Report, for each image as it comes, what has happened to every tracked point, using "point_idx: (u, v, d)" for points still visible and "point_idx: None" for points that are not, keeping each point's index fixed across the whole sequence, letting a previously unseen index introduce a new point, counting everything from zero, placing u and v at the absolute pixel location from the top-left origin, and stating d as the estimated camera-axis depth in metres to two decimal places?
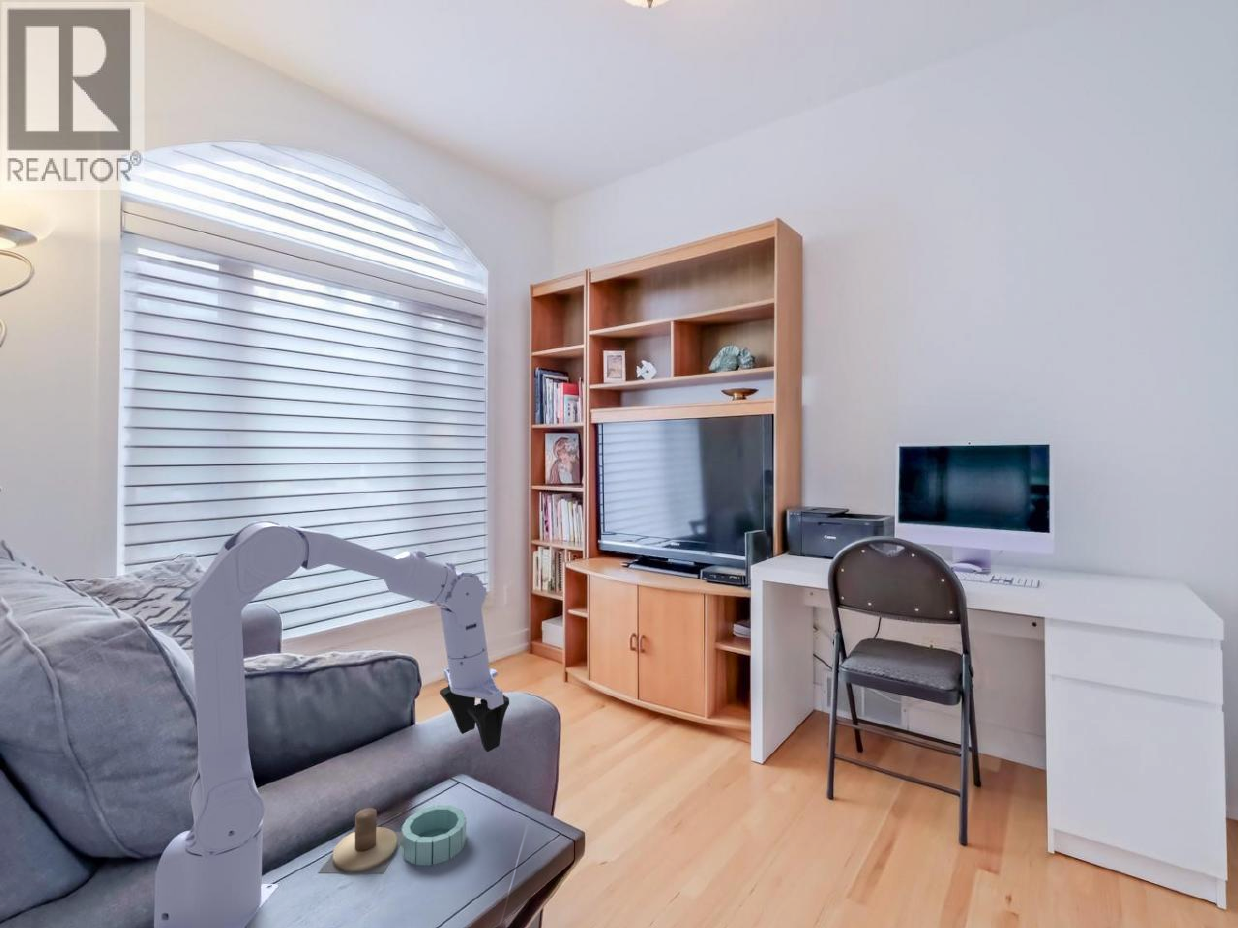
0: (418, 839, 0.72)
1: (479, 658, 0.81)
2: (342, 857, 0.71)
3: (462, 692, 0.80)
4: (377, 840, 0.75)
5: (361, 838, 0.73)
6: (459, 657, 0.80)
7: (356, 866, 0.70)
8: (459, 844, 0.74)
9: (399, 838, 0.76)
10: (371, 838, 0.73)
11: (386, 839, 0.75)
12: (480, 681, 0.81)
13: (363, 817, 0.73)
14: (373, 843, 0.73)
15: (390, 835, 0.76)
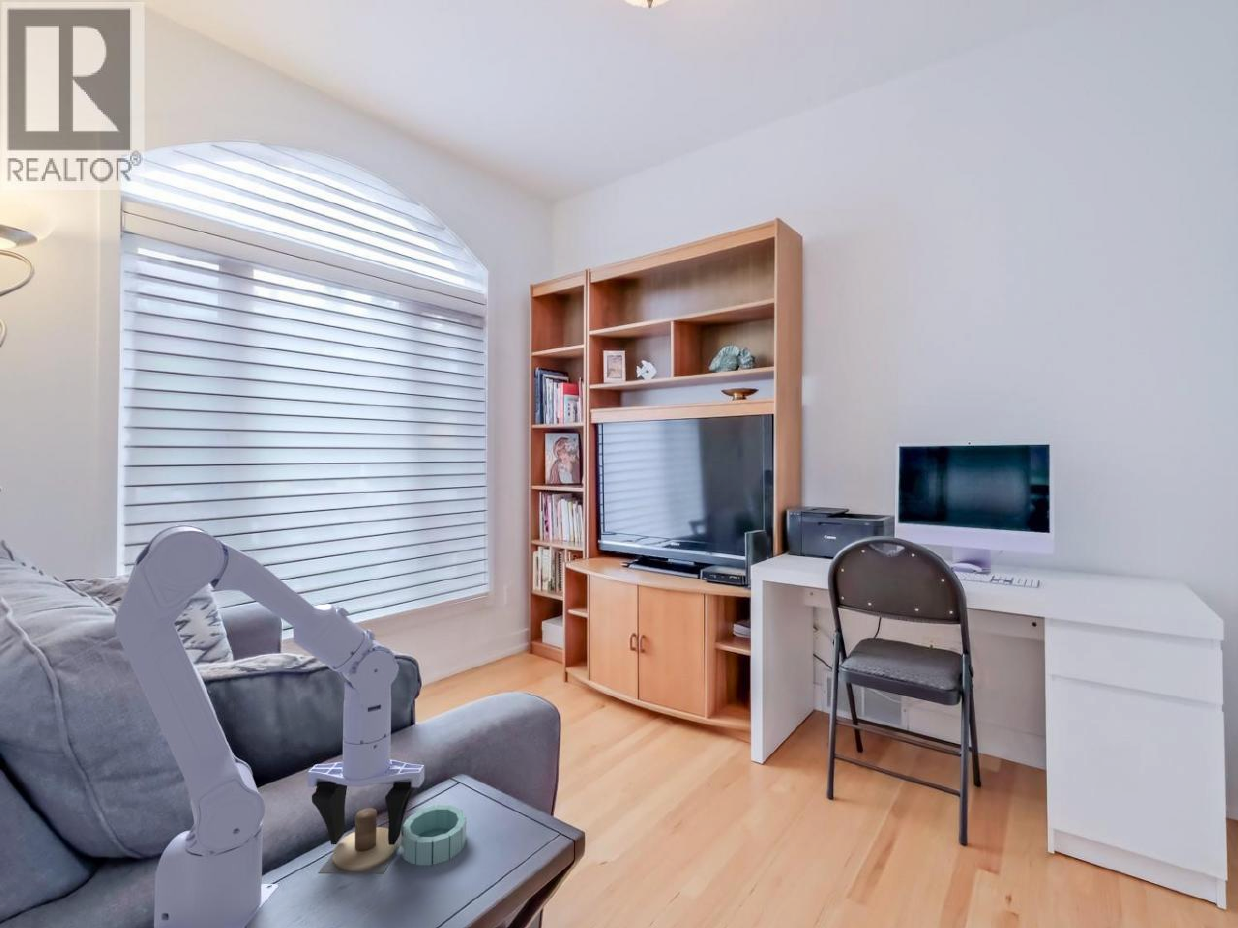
0: (418, 839, 0.72)
1: (389, 737, 0.75)
2: (342, 857, 0.71)
3: (374, 781, 0.72)
4: (377, 840, 0.75)
5: (361, 837, 0.73)
6: (355, 742, 0.71)
7: (356, 866, 0.70)
8: (459, 844, 0.74)
9: (399, 838, 0.76)
10: (371, 838, 0.73)
11: (386, 839, 0.75)
12: (388, 764, 0.74)
13: (363, 817, 0.73)
14: (373, 843, 0.73)
15: None
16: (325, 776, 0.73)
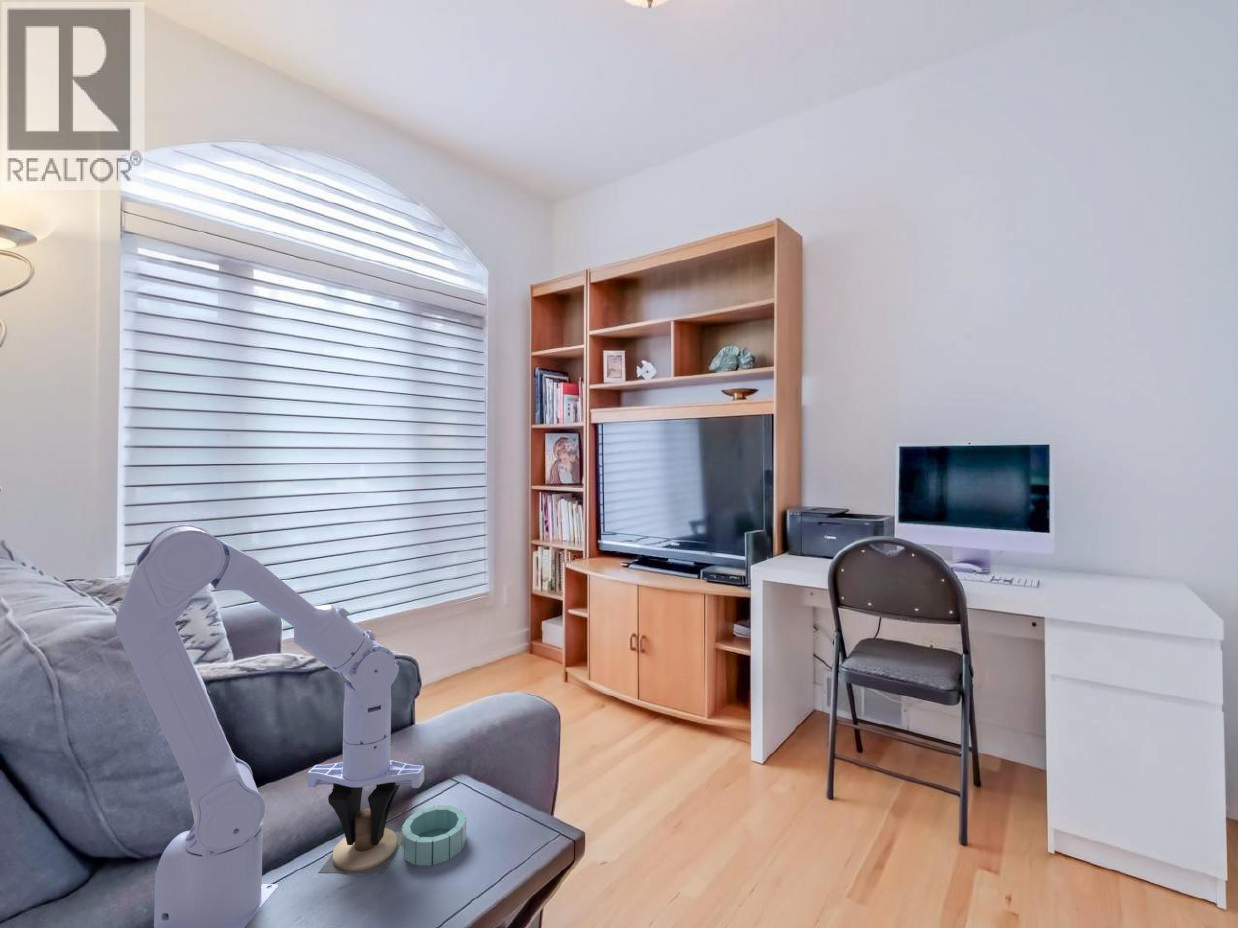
0: (418, 839, 0.72)
1: (389, 738, 0.75)
2: (342, 857, 0.71)
3: (374, 781, 0.72)
4: None
5: (361, 837, 0.73)
6: (355, 743, 0.71)
7: (356, 866, 0.70)
8: (459, 844, 0.74)
9: (399, 838, 0.76)
10: None
11: (386, 839, 0.75)
12: (388, 764, 0.74)
13: (363, 817, 0.73)
14: None
15: (390, 835, 0.76)
16: (325, 777, 0.72)
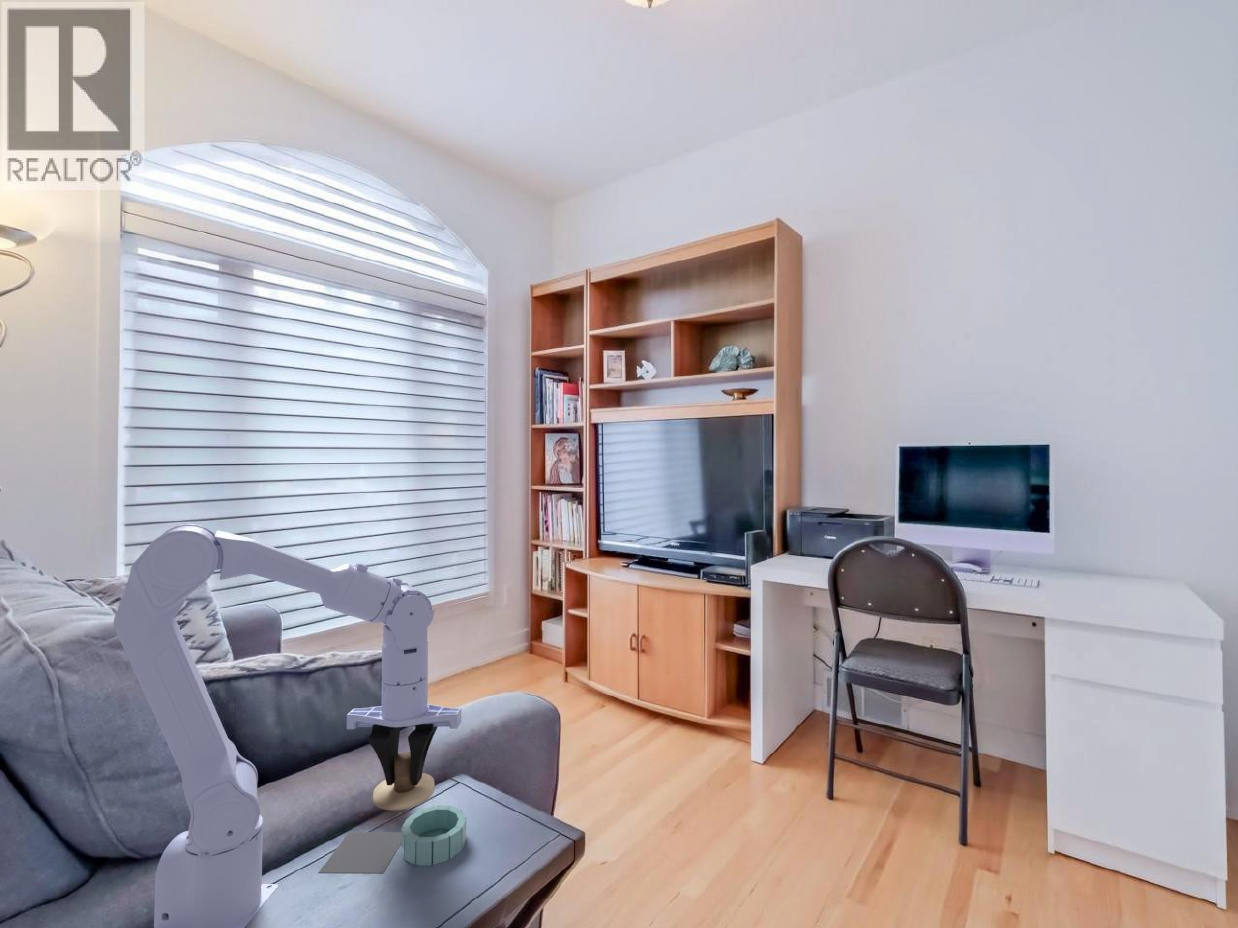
0: (418, 839, 0.72)
1: (427, 681, 0.76)
2: (382, 797, 0.73)
3: (414, 721, 0.73)
4: None
5: (400, 779, 0.74)
6: (392, 683, 0.72)
7: (397, 805, 0.71)
8: (459, 844, 0.74)
9: (399, 838, 0.76)
10: (410, 780, 0.74)
11: (424, 782, 0.76)
12: (426, 707, 0.75)
13: (402, 759, 0.74)
14: (412, 785, 0.75)
15: (428, 779, 0.77)
16: (364, 718, 0.73)
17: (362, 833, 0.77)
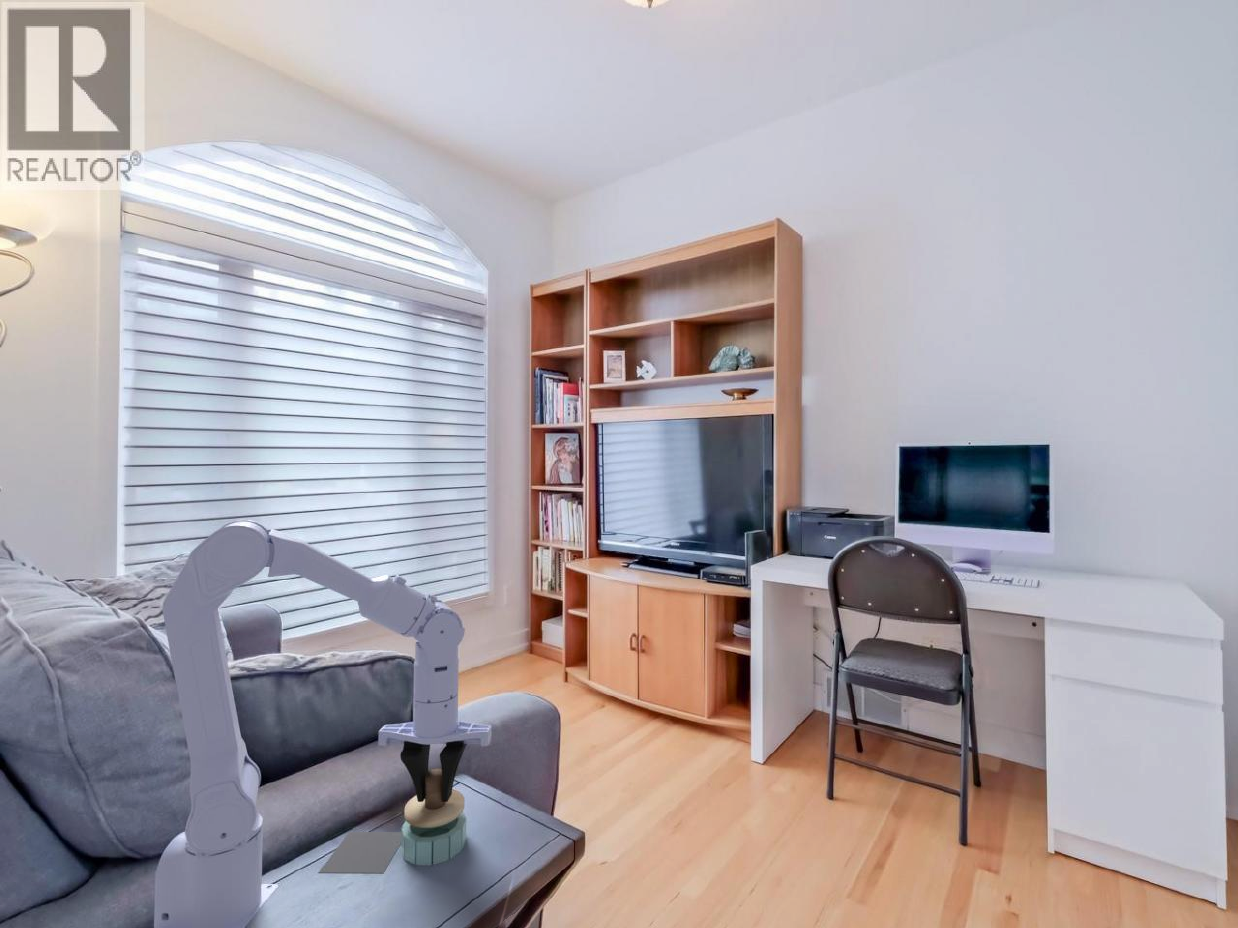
0: (418, 839, 0.72)
1: (457, 698, 0.76)
2: (414, 814, 0.73)
3: (445, 739, 0.73)
4: None
5: (431, 796, 0.74)
6: (423, 701, 0.73)
7: (429, 822, 0.72)
8: (459, 844, 0.74)
9: (399, 838, 0.76)
10: (441, 797, 0.75)
11: (454, 799, 0.77)
12: (457, 724, 0.76)
13: (433, 776, 0.75)
14: (443, 802, 0.75)
15: (457, 795, 0.77)
16: (396, 735, 0.74)
17: (362, 833, 0.77)
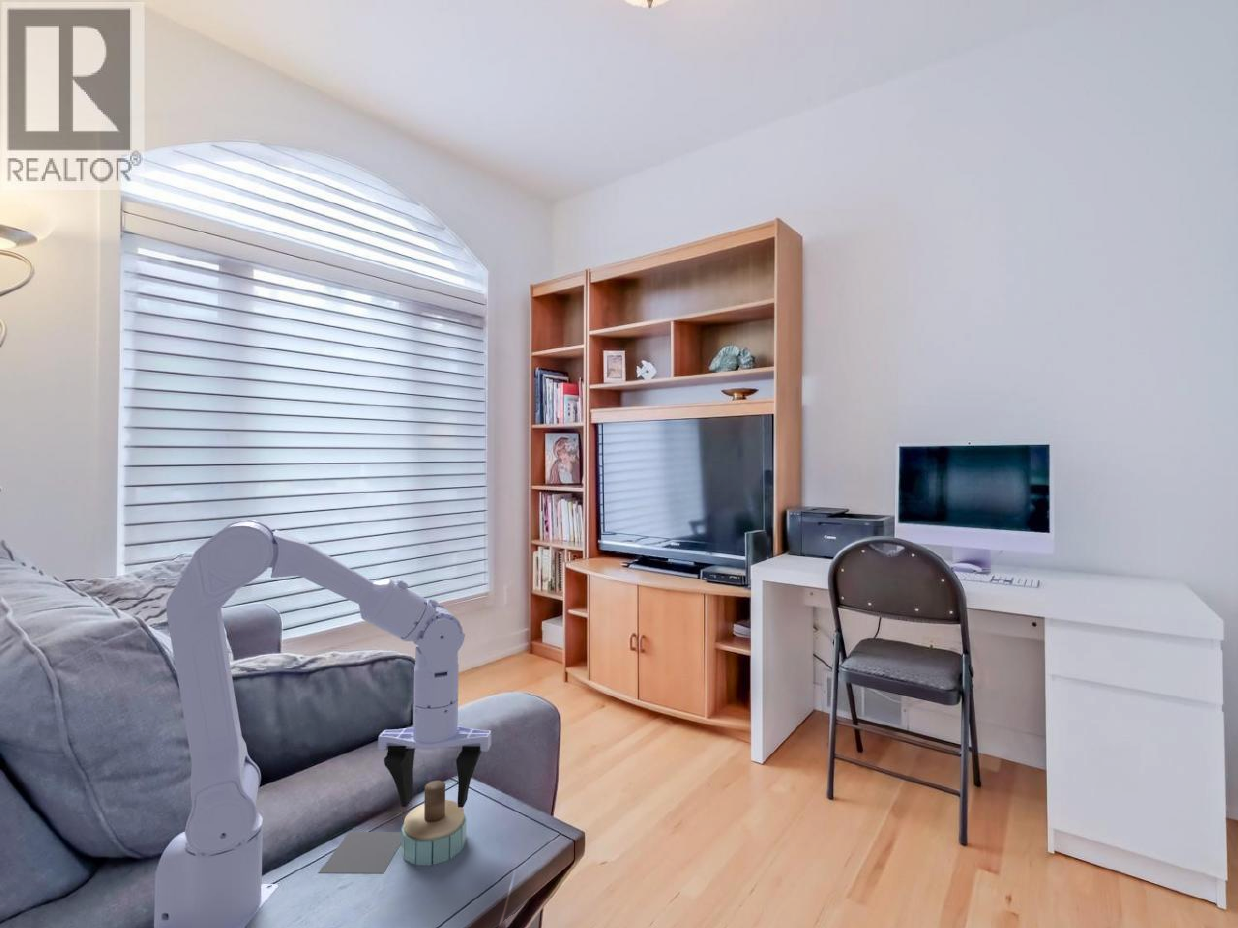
0: None
1: (457, 703, 0.76)
2: (414, 827, 0.73)
3: (445, 744, 0.73)
4: (445, 812, 0.76)
5: (431, 808, 0.74)
6: (423, 706, 0.73)
7: (428, 835, 0.72)
8: (459, 844, 0.74)
9: (399, 838, 0.76)
10: (440, 809, 0.75)
11: (454, 811, 0.77)
12: (457, 729, 0.76)
13: (433, 789, 0.75)
14: (442, 814, 0.75)
15: (457, 807, 0.77)
16: (396, 740, 0.74)
17: (362, 833, 0.77)
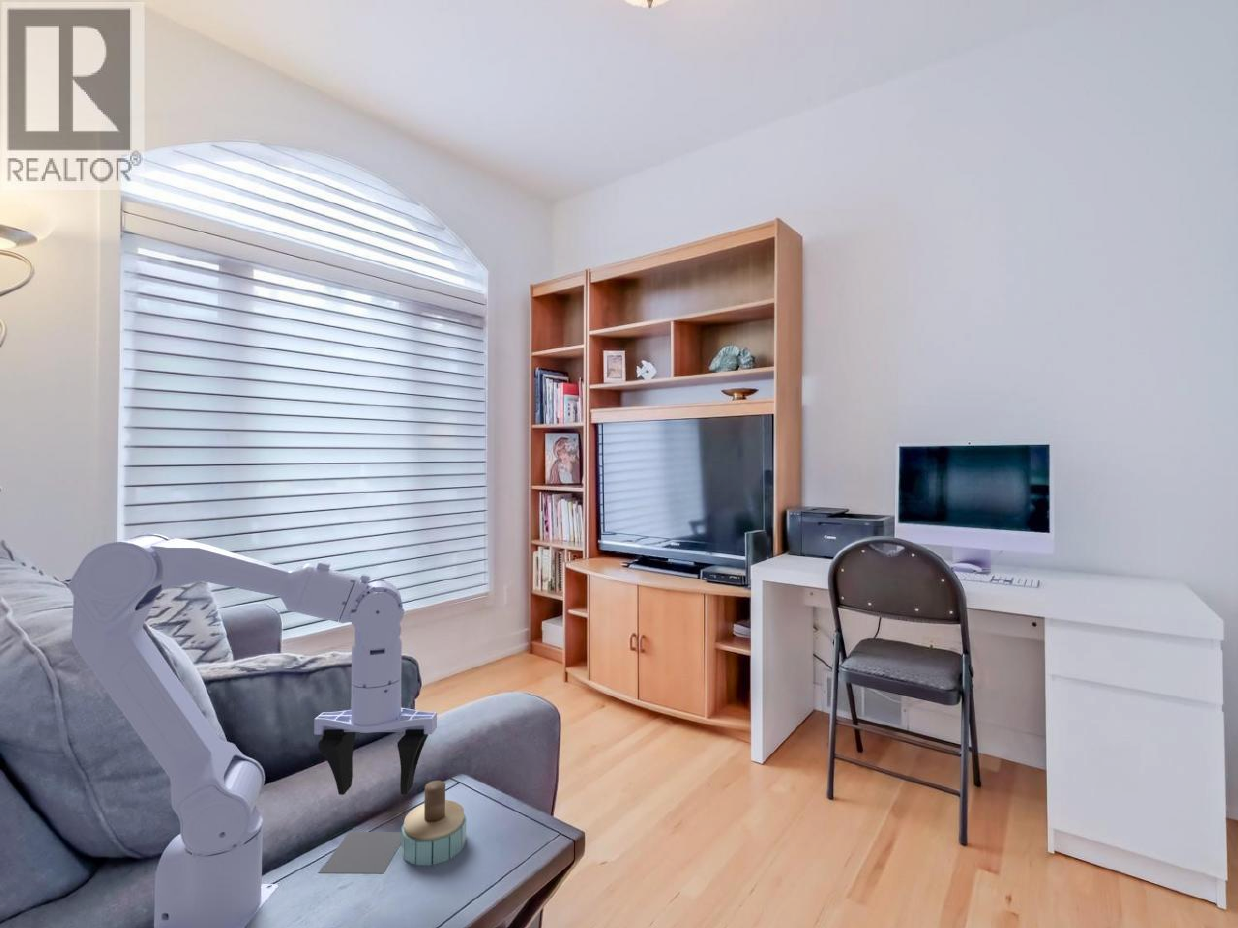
0: None
1: (400, 683, 0.71)
2: (414, 827, 0.73)
3: (385, 727, 0.68)
4: (445, 812, 0.76)
5: (431, 808, 0.74)
6: (358, 685, 0.68)
7: (428, 835, 0.72)
8: (459, 844, 0.74)
9: (399, 838, 0.76)
10: (440, 809, 0.75)
11: (454, 811, 0.77)
12: (399, 711, 0.71)
13: (433, 789, 0.75)
14: (442, 814, 0.75)
15: (457, 807, 0.77)
16: (333, 723, 0.69)
17: (362, 833, 0.77)
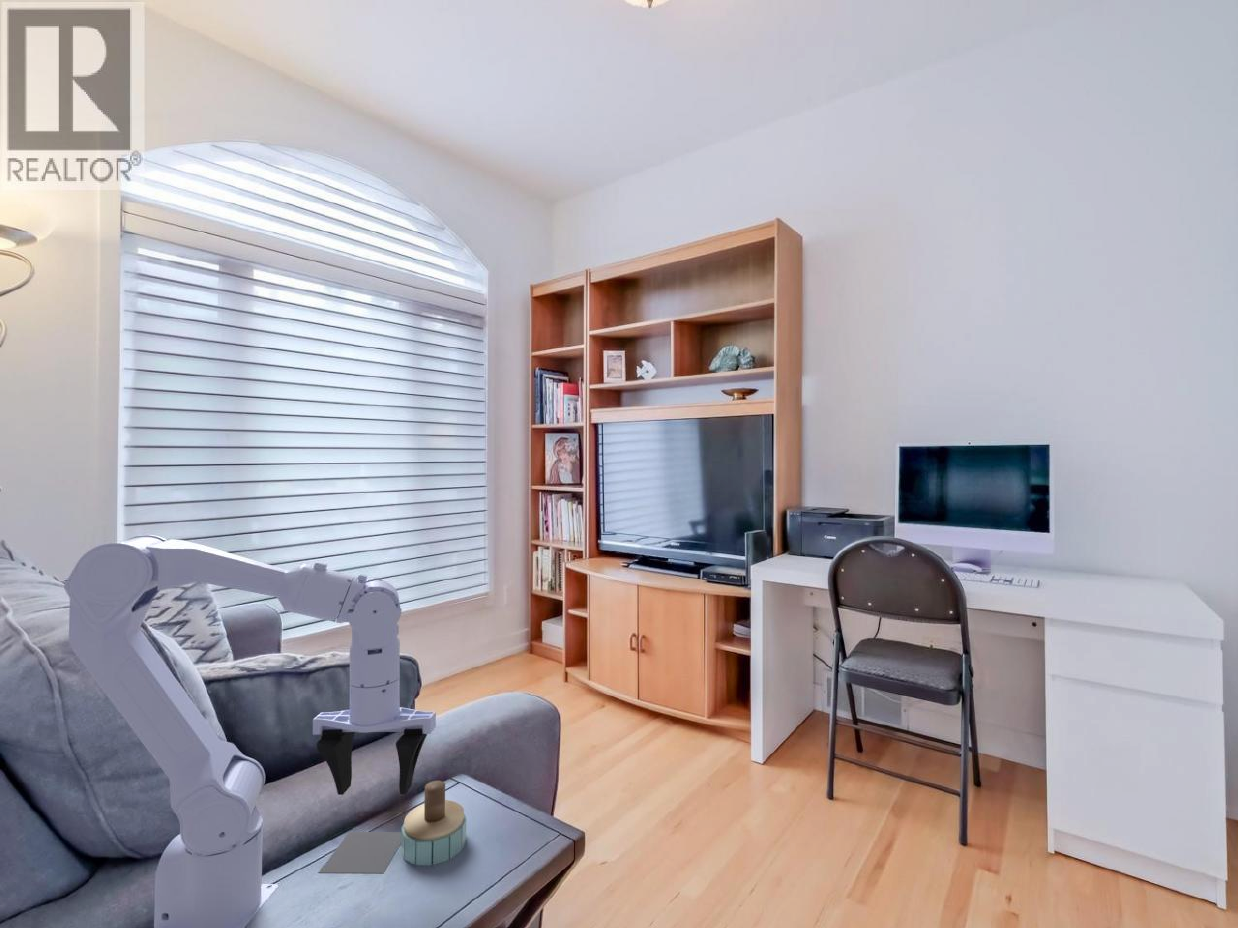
0: None
1: (398, 683, 0.71)
2: (414, 827, 0.73)
3: (383, 726, 0.68)
4: (445, 812, 0.76)
5: (431, 808, 0.74)
6: (356, 685, 0.68)
7: (428, 835, 0.72)
8: (459, 844, 0.74)
9: (399, 838, 0.76)
10: (440, 809, 0.75)
11: (454, 811, 0.77)
12: (398, 710, 0.70)
13: (433, 789, 0.75)
14: (442, 814, 0.75)
15: (457, 807, 0.77)
16: (331, 723, 0.69)
17: (362, 833, 0.77)
